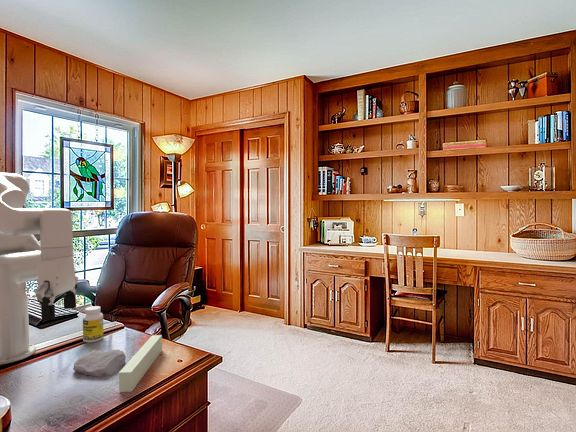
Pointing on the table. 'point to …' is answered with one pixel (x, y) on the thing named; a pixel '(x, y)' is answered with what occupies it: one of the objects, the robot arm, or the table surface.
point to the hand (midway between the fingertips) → (59, 313)
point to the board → (139, 364)
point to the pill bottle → (93, 324)
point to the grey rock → (100, 362)
